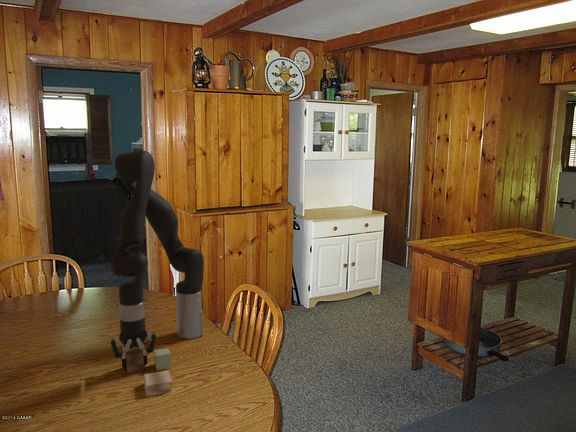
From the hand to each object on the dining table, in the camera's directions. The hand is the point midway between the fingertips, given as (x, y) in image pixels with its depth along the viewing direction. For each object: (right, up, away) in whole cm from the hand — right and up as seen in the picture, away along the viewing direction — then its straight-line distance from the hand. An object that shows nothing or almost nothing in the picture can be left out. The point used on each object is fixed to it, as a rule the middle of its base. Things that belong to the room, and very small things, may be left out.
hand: (134, 366), depth 153 cm
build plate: (+10, -4, -10) cm, 15 cm away
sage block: (+8, -2, +3) cm, 9 cm away
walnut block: (0, -1, 0) cm, 1 cm away
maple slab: (+10, -3, -11) cm, 15 cm away
